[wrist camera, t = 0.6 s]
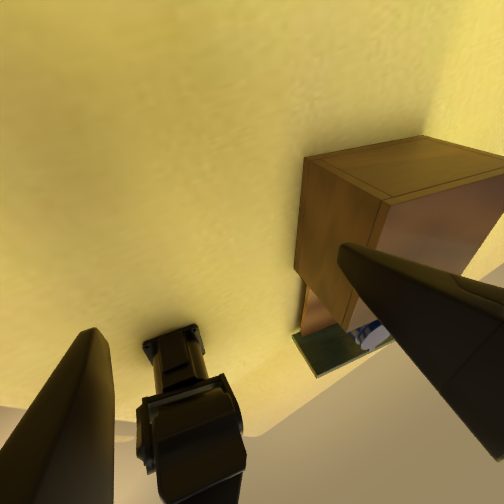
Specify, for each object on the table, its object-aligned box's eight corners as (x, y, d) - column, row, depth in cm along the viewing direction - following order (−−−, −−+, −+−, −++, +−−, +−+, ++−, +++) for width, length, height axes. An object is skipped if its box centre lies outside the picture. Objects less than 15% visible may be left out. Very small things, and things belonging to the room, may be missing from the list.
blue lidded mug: (352, 305, 40) (387, 343, 34) (323, 317, 38) (354, 358, 33) (364, 269, 35) (407, 307, 30) (331, 282, 33) (370, 323, 28)
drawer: (357, 325, 48) (385, 357, 43) (289, 354, 44) (312, 394, 39) (388, 244, 35) (433, 276, 30) (298, 275, 31) (333, 317, 26)
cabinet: (384, 239, 36) (453, 286, 29) (293, 268, 32) (346, 333, 24) (423, 134, 27) (536, 164, 20) (304, 157, 23) (391, 205, 16)
